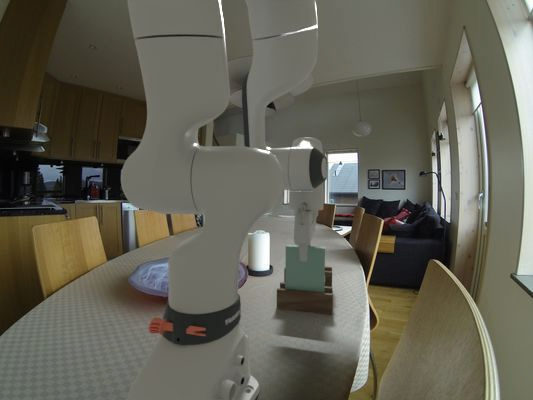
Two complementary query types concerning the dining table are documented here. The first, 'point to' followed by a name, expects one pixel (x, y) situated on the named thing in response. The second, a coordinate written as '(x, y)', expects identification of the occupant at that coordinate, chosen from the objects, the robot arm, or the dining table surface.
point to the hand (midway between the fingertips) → (305, 255)
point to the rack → (307, 297)
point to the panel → (305, 269)
